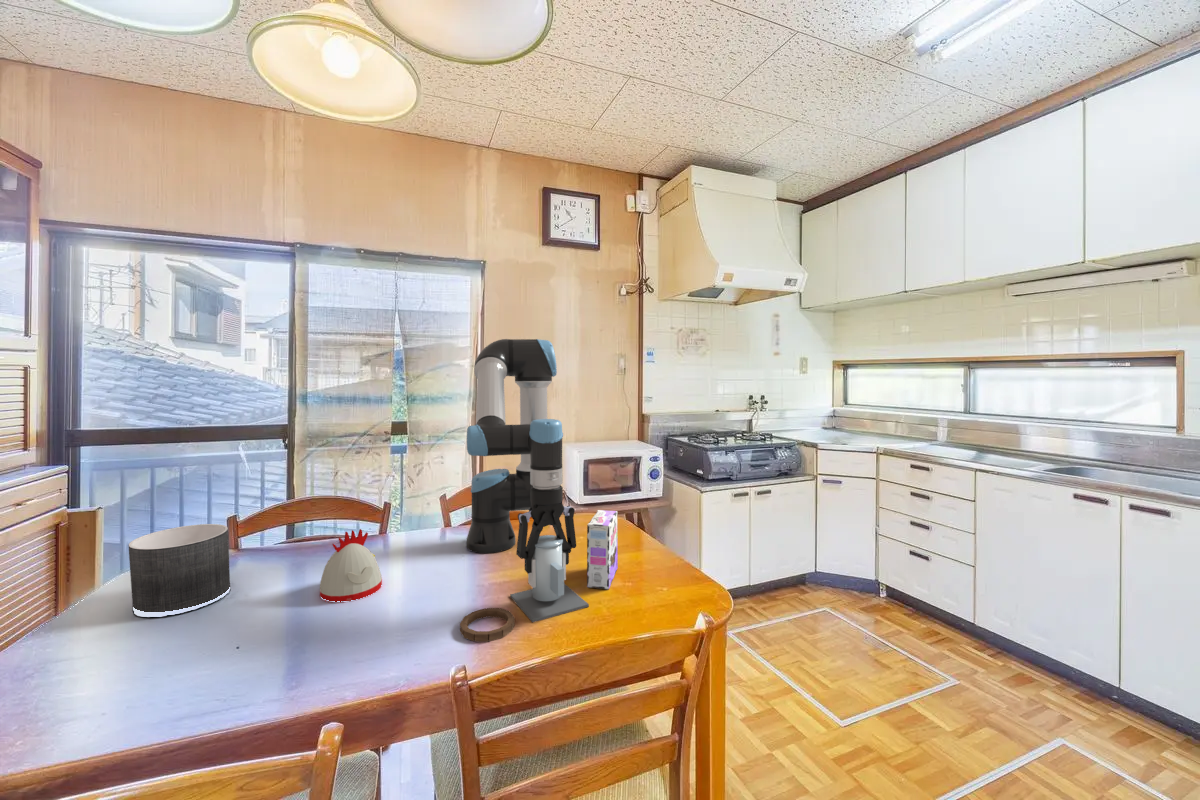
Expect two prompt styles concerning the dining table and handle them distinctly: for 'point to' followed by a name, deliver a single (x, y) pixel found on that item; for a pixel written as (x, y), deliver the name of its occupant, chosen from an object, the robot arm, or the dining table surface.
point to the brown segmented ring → (487, 635)
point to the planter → (179, 567)
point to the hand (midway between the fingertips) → (547, 581)
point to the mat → (548, 604)
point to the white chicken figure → (350, 571)
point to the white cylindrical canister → (548, 569)
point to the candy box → (602, 549)
